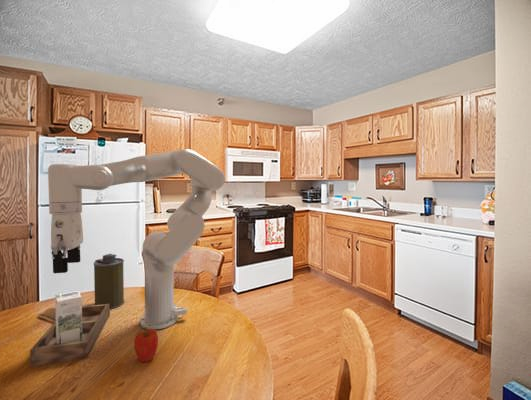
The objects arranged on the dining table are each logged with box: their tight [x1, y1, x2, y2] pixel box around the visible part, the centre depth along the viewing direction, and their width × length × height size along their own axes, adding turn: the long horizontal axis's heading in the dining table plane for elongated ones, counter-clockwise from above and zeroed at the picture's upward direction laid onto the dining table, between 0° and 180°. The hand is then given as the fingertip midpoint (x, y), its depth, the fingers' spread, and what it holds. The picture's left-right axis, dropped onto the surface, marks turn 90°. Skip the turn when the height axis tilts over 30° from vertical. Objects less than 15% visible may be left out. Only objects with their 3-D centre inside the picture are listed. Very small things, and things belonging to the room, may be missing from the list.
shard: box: [37, 307, 56, 324], centre depth 97 cm, size 11×8×2 cm
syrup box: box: [54, 290, 83, 344], centre depth 79 cm, size 6×6×14 cm
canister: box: [93, 253, 125, 310], centre depth 108 cm, size 11×10×20 cm
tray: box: [29, 304, 111, 367], centre depth 85 cm, size 13×25×4 cm, turn 17°
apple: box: [133, 329, 159, 363], centre depth 75 cm, size 6×6×8 cm
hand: (67, 267), depth 78 cm, fingers open, 9 cm apart
